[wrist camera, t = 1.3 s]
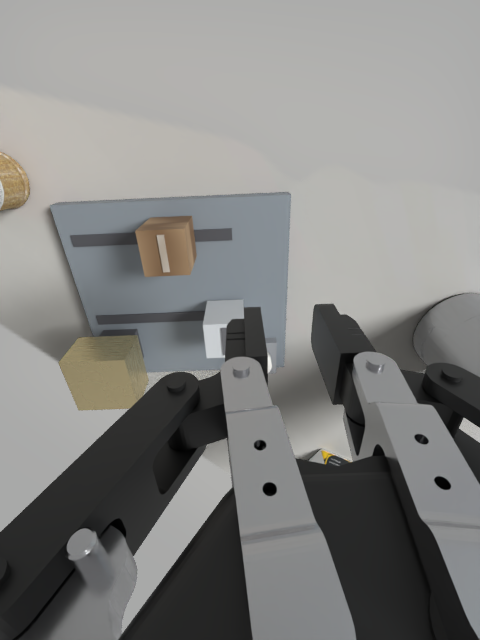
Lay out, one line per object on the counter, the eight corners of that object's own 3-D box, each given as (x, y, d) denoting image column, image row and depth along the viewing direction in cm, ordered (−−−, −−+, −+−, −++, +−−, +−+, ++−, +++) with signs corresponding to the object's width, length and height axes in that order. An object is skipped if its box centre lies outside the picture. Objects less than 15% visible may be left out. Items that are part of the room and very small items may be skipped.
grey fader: (243, 299, 30) (244, 324, 26) (244, 330, 31) (245, 357, 27) (207, 300, 30) (202, 325, 26) (210, 331, 31) (206, 359, 27)
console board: (288, 191, 26) (297, 201, 22) (282, 358, 35) (288, 386, 31) (58, 202, 27) (26, 213, 23) (110, 365, 36) (94, 394, 32)
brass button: (137, 335, 29) (124, 360, 25) (148, 380, 31) (138, 408, 28) (78, 337, 29) (58, 362, 25) (95, 382, 31) (78, 410, 28)
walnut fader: (192, 215, 26) (183, 229, 22) (196, 256, 27) (190, 275, 23) (150, 217, 26) (134, 231, 22) (157, 257, 27) (144, 277, 23)
